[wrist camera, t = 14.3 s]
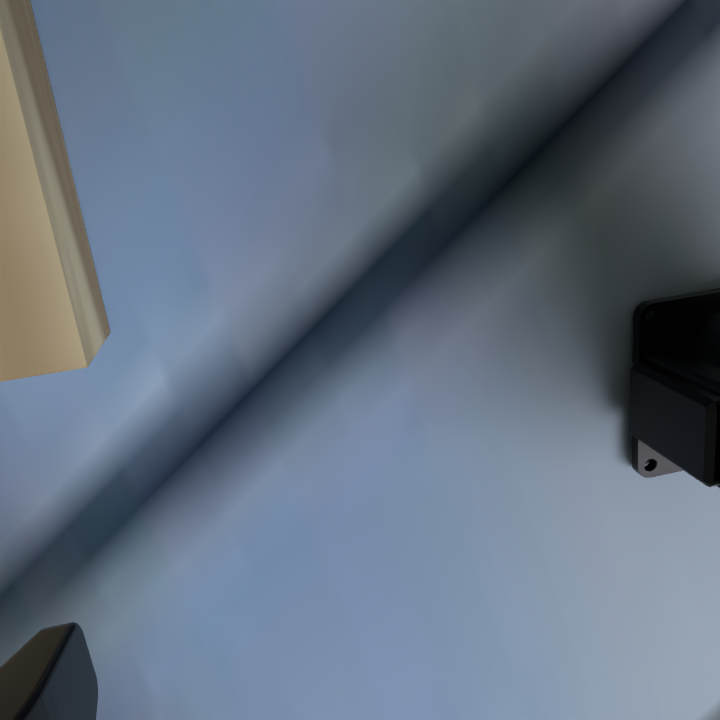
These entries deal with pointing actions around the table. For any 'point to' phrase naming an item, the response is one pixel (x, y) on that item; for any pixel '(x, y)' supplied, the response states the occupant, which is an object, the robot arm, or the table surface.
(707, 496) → the table surface
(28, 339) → the tray
